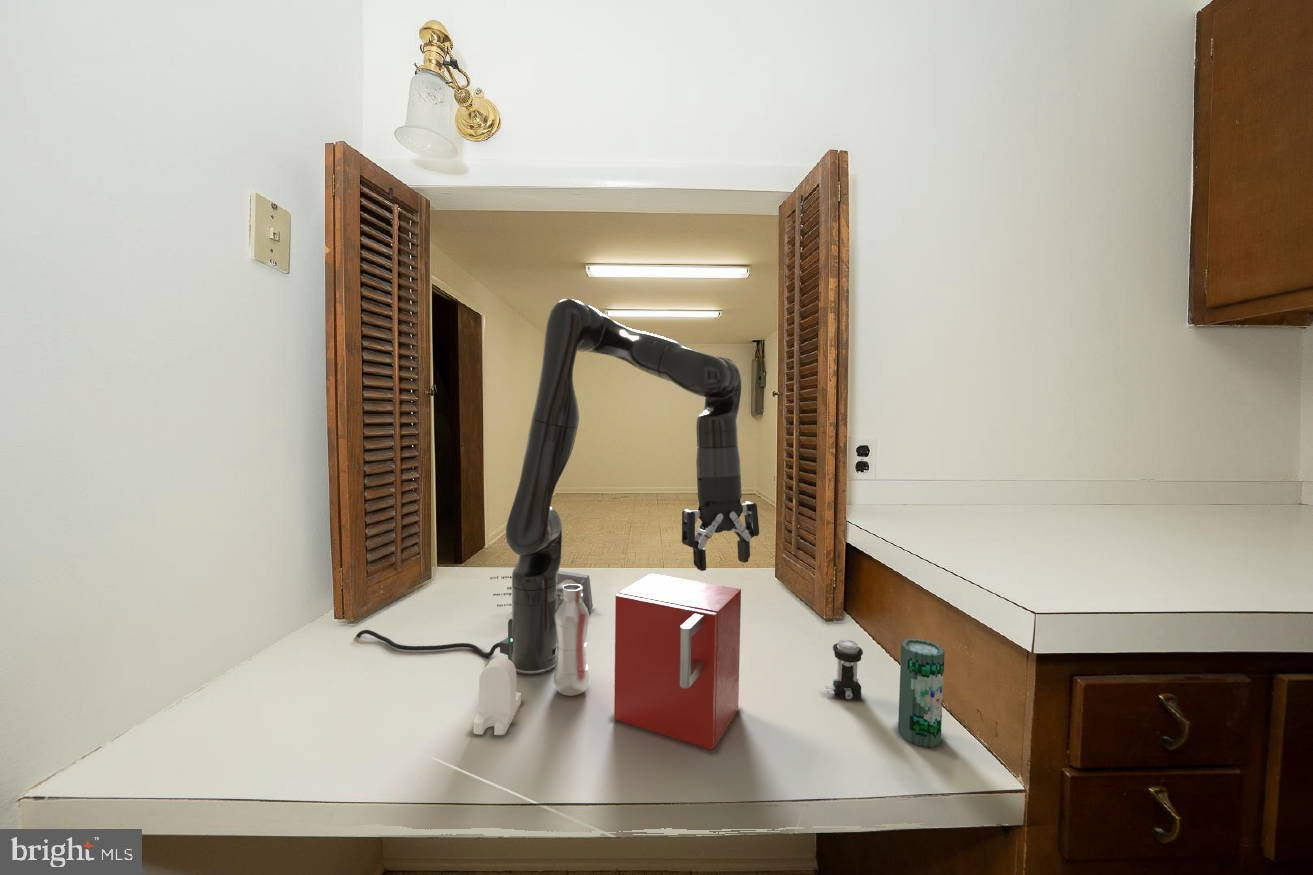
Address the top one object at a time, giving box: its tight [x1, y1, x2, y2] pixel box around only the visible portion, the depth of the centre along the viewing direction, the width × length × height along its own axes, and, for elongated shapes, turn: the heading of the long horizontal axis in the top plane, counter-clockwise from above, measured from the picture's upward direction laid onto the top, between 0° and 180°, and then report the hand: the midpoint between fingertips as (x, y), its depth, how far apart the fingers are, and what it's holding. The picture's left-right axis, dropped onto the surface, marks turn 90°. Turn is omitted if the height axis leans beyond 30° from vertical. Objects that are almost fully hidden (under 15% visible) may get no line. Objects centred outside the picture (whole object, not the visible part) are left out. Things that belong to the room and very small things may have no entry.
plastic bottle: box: [553, 584, 590, 697], centre depth 100 cm, size 6×7×20 cm
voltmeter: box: [489, 570, 594, 612], centre depth 138 cm, size 27×11×10 cm, turn 103°
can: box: [897, 638, 946, 748], centre depth 88 cm, size 6×6×15 cm
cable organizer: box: [473, 656, 522, 736], centre depth 91 cm, size 5×10×10 cm, turn 178°
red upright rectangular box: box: [618, 573, 742, 747], centre depth 93 cm, size 12×18×22 cm, turn 63°
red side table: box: [613, 593, 717, 751], centre depth 84 cm, size 7×18×22 cm, turn 63°
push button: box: [824, 639, 864, 700], centre depth 100 cm, size 7×5×10 cm
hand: (722, 565), depth 92 cm, fingers open, 8 cm apart
